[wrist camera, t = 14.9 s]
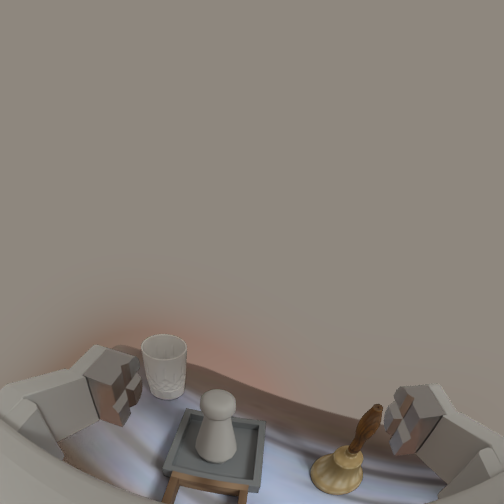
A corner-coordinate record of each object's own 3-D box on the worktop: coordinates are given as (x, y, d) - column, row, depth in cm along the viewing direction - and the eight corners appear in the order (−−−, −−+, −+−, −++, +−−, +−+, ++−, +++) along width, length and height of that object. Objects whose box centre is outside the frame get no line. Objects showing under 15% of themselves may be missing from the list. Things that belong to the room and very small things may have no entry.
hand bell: (372, 471, 30) (418, 402, 26) (340, 504, 25) (389, 442, 21) (333, 446, 36) (366, 375, 32) (298, 474, 31) (329, 405, 27)
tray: (264, 429, 40) (266, 421, 39) (258, 493, 27) (260, 486, 27) (186, 416, 41) (186, 408, 40) (164, 475, 28) (162, 468, 28)
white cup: (152, 372, 50) (148, 331, 48) (190, 378, 51) (190, 336, 48) (141, 398, 43) (135, 355, 40) (184, 405, 43) (182, 363, 41)
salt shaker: (190, 444, 34) (186, 386, 31) (224, 435, 37) (229, 377, 34) (205, 473, 29) (204, 419, 26) (242, 462, 32) (252, 406, 29)
